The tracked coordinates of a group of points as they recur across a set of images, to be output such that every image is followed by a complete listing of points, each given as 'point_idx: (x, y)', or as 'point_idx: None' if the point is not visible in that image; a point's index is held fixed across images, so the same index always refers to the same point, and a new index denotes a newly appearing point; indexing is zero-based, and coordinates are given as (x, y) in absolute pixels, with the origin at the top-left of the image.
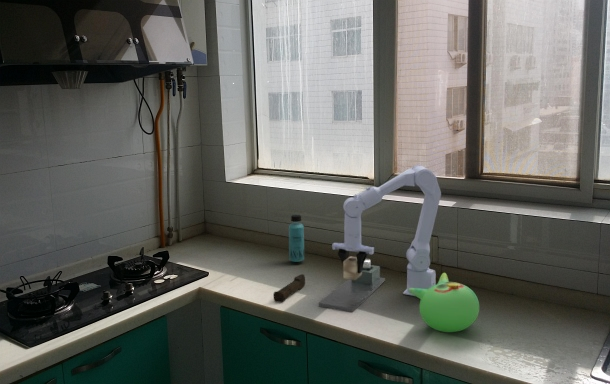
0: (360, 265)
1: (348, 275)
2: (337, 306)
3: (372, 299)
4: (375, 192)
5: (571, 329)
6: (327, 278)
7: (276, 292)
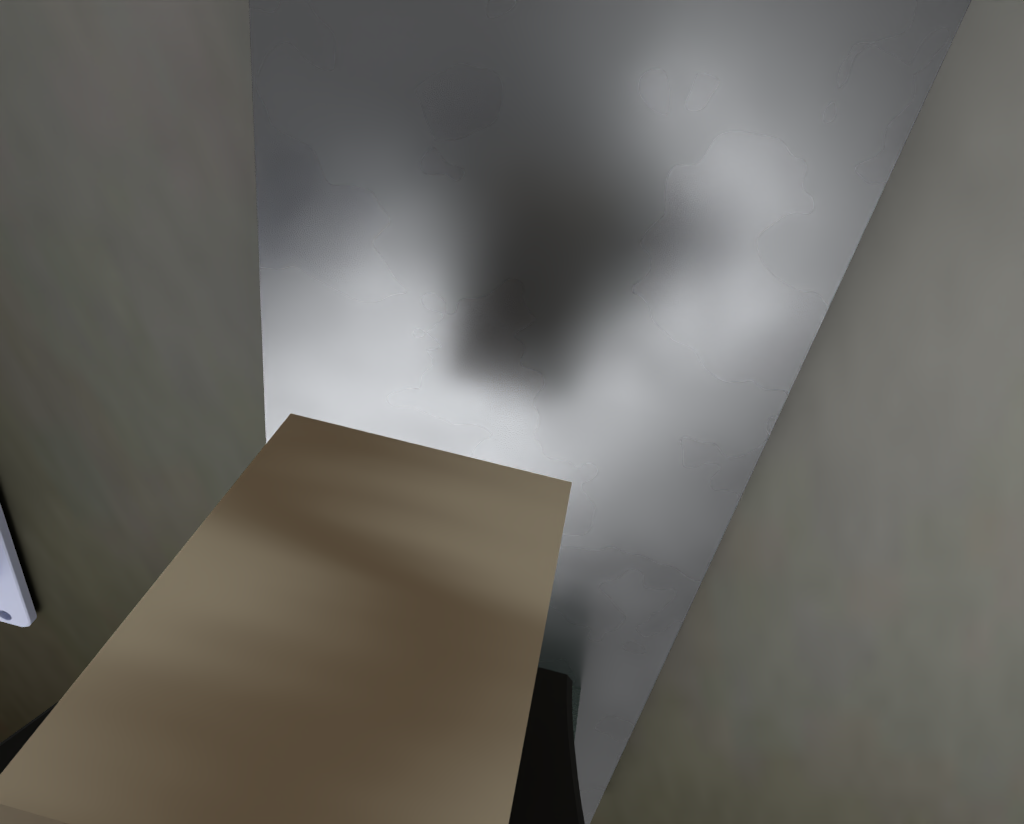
0: (11, 736)
1: (428, 504)
2: None
3: (209, 281)
4: None
5: None
6: (885, 779)
7: None
